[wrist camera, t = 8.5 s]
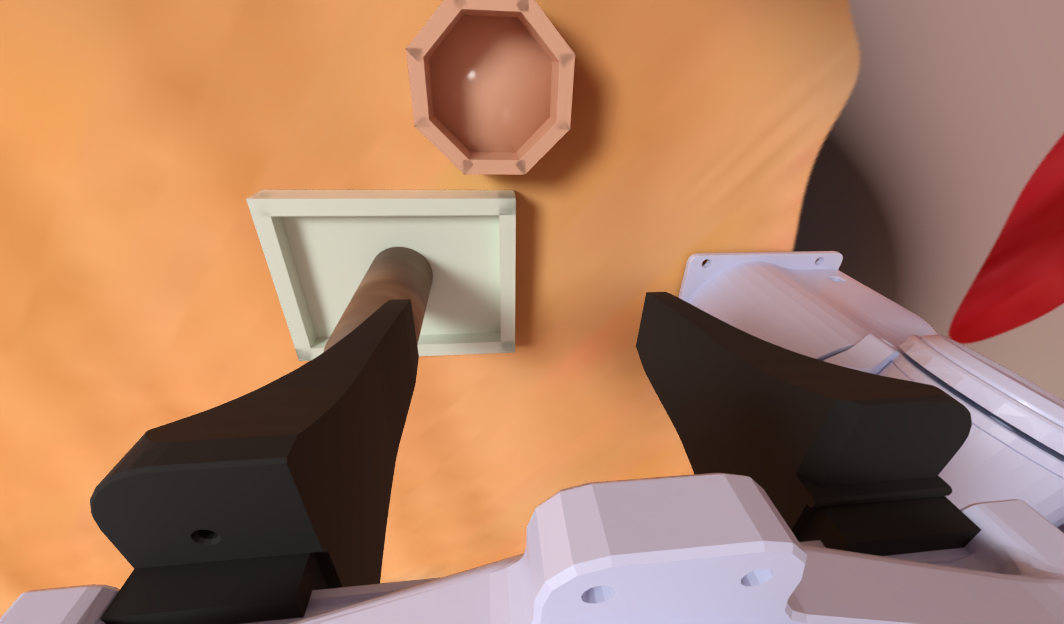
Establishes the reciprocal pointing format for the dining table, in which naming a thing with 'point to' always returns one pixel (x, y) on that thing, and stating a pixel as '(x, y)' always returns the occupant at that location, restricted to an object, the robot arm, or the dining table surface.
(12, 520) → the dining table surface
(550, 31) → the holder
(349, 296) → the tray
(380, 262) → the peg
